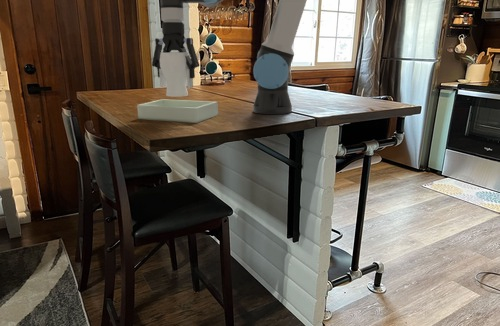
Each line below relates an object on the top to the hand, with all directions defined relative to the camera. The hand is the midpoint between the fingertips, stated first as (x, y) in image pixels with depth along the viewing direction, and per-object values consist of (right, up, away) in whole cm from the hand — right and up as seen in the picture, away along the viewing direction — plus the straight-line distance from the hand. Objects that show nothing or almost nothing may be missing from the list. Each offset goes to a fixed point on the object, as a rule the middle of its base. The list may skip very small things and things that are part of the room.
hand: (176, 87), depth 138 cm
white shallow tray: (0, -10, +3) cm, 11 cm away
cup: (0, -3, +1) cm, 3 cm away
